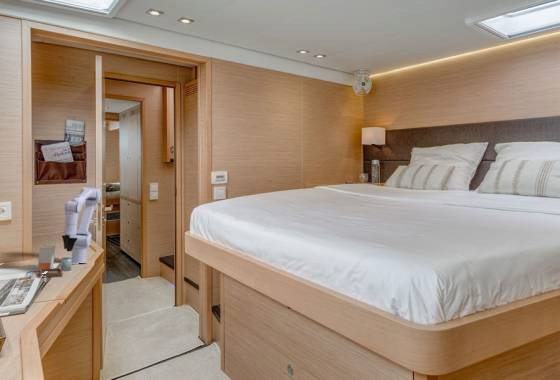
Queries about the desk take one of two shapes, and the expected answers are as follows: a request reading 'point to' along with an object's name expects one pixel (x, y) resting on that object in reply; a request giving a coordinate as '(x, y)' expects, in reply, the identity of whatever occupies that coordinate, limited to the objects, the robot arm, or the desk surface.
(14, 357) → the desk surface
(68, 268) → the cup
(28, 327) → the desk surface
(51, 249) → the skincare box
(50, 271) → the tray
